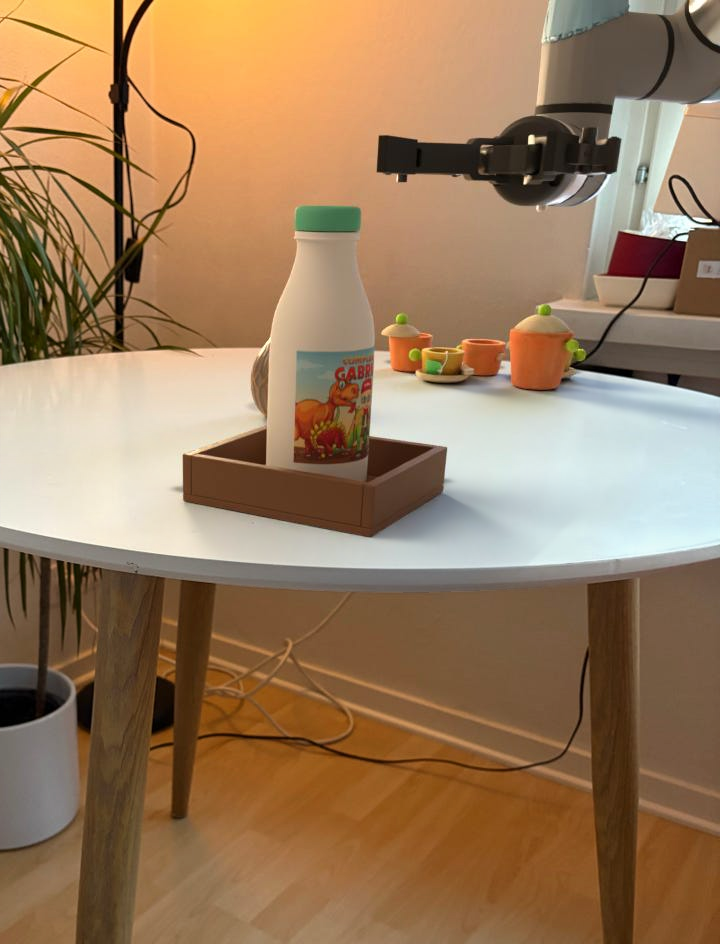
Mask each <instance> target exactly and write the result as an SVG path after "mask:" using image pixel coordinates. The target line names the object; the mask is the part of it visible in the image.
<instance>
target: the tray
mask: <svg viewBox="0 0 720 944" xmlns="http://www.w3.org/2000/svg"><path fill="white" fill-rule="evenodd" d="M266 449H267V424H265V425H262V426H260V427H257V428H253V429H251V430H248V431H245V432H243V433H240V434H237V435H234V436H231V437H227V438H225V439H222V440H220V441H216V442H214V443H211V444H208V445H205V446H203V447H200V448H196V449H194V450H191V451H188V452H185V453H182V501H183V502H187V503H193V504H198V505H201V506H208V507H213V508H218V509H222V510H223V509H224V510H229V511H233V512H239V513H245V514H249V515H254V516H258V517H260V516H261V517H264V518H269V519H274V520H280V521H284V522H285V521H286V522H291V523H296V524H301V525H306V526H310V527H317V528H320V529H326V530H331V531H337V532H341V533H347V534H353V535H357V536H361V537H367V538H372V537H373V536H375V535H377V534H378V533H380V532H381V531H383V530H384V529H386V528H388V527H389V526H391V525H393V524H394V523H396V522H397V521H399V520H401V519H402V518H404V517H405V516H407V515H409V514H410V513H412V512H413V511H415V510H417V509H418V508H419V507H421V506H422V505H424V504H426V503H428V502H429V501H431V500H432V499H434V498H436V497H437V496H439V495H440V494H442V493H443V492H444V484H445V475H446V465H447V455H448V447H447V446H443V445H436V444H428V443H422V442H415V441H408V440H401V439H394V438H386V437H380V436H373V435H369V450H368V464H367V476H366V482H364V481H358V480H352V479H346V478H340V477H334V476H328V475H322V474H316V473H310V472H304V471H298V470H292V469H286V468H280V467H274V466H268V465H266Z"/></svg>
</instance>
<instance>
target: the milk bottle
mask: <svg viewBox="0 0 720 944" xmlns="http://www.w3.org/2000/svg"><path fill="white" fill-rule="evenodd" d="M361 225H362V210H361V208H360V207H358V206H352V205H299V206H296V208H295V210H294V220H293V226H294V230H295V231H294V236H293V239H294V240H295V241H296V253H295V258H294V261H293V266H292V268H291V272H290V274H289V277H288V280H287V282H286V284H285V287H284V289H283V291H282V293H281V295H280V298H279V301H278V303H277V305H276V308H275V311H274V315H273V319H272V323H271V328H270V329H271V330H270V337H269V338H270V352H269V376H268V408H267V417H266V418H267V419H266V425H267V449H266V465H268V466H274V467H280V468H286V469H292V470H298V471H304V472H310V473H316V474H322V475H328V476H334V477H340V478H346V479H352V480H358V481H364V482H366V476H367V464H368V450H369V436H371V435H370V433H371V419H372V417H371V416H372V404H373V403H372V402H373V387H374V367H375V340H376V338H375V336H376V335H375V323H374V317H373V316H374V315H373V312H372V307H371V304H370V302H369V299H368V296H367V293H366V291H365V290H366V289H365V288H364V284H363V281H362V278H361V275H360V270H359V265H358V259H357V242H358V241H360V240H361V238H360V230H361Z"/></svg>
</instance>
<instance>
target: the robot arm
mask: <svg viewBox="0 0 720 944" xmlns="http://www.w3.org/2000/svg"><path fill="white" fill-rule="evenodd" d="M630 7H631V5H630V0H549V1H548V4H547V10H546V13H545V19H544V24H543V30H542V34H541V40H540V44H541V50H540V51H541V52H540V63H539V73H538V74H539V75H538V85H537V97H536V106H535V108H534V115H529V116H527V115H526V116H524V117H521V118H519V119H516V120H515V121H513V122H511V123H510V124H509V125H507V126H506V127H505V128H504V129H503V130H502V132H501V133H499V135H496V136H493V137H472V138H469V139H467V141H466V142H465V143H458V142H457V143H455V142H453V143H452V142H427V141H426V142H425V141H424V142H423V141H419V139H416V138H411V137H410V138H409V137H403V136H396V135H390V134H389V135H388V134H382V135H381V134H379V135H378V140H377V141H378V142H377V156H376V158H377V159H376V173H378V174H379V173H380V174H382V175H385V176H392V175H393V174H394V175H396V183H408V175H409V176H410V175H412V176H414V175H429V176H433V175H436V176H451V177H452V178H458V177H461V176H463V179H464V180H465V181H469V182H470V181H471V182H488V183H489V184H490V185H492V187H493V189H494V191H495V192H496V193H497V195H498V196H500V198H501V199H503V200H504V201H506V202H507V203H508V204H512V205H514V206H520V207H536V212H537V213H539V214H543V213H546V212H548V211H547V210H548V207H555V208H556V207H557V208H566V207H567V208H568V207H571V208H574V207H577V206H579V205H582V204H585V203H586V202H589V201H590V200H592V199H593V198H595V197H597V195H599V193H601V191H602V190H603V189H604V188H605V187H606V185H607V184H608V182H609V180H610V178H611V175H613V174H616V173H617V172H618V166H619V160H620V155H621V145H622V140H623V139H622V138H621V137H618V136H610V131H611V124H612V115H613V111H614V105H615V100H621V101H622V100H626V101H643V102H656V103H657V102H658V103H670V104H671V103H673V104H679V105H689V106H690V105H691V106H692V105H696V104H709V103H710V104H712V103H716V102H720V0H685V1H684V2H683V3H682V4H681V6H680V7H679V8H678V9H677V10H676V12H675V13H673V14H660V13H659V14H657V13H648V12H647V13H646V12H638V11H630ZM482 146H483V147H482Z"/></svg>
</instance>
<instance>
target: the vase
mask: <svg viewBox="0 0 720 944" xmlns="http://www.w3.org/2000/svg"><path fill="white" fill-rule="evenodd" d="M269 352H270V337H269V338H268V340H267V341H266V343H265V344H264V345H263V347H262V348H260V350H259V352H258V353H257V355H256V357H255V359H254V362H253V364H252V368H251V372H250V391H251V392H250V393H251V397H252V399H253V402H254V405H255V406H256V408H257V409H258V411H259V412H260V413H261V414H262V415H263V416H264V417H266V418H267V408H268V376H269Z"/></svg>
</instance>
